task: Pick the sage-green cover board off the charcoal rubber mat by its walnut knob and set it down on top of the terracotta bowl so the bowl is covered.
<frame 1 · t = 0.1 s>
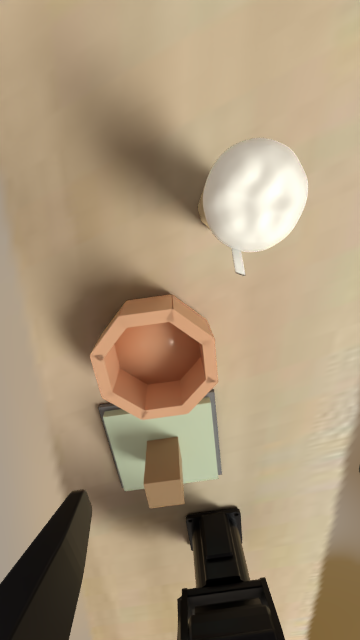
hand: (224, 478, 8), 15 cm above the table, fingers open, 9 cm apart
milkshake: (217, 212, 19), on the table
cover board: (164, 443, 26), resting on mat
mat: (164, 440, 27), on the table
bowl: (157, 344, 23), on the table
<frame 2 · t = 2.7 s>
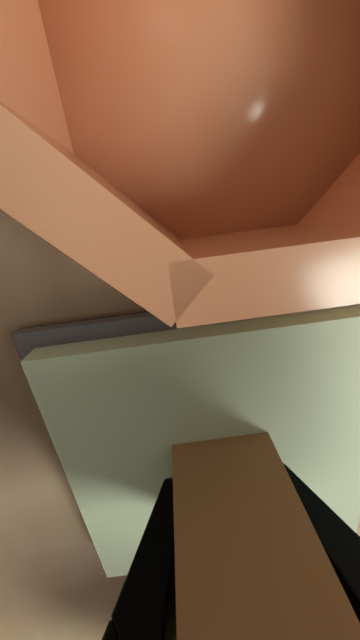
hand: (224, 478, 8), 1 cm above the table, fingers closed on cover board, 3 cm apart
cover board: (218, 452, 9), resting on mat, touching gripper
mat: (216, 443, 10), on the table
bowl: (225, 60, 6), on the table
when the fingers open (6 cm above the table, at t = 5.5 s): cover board stays where it is, resting on bowl.
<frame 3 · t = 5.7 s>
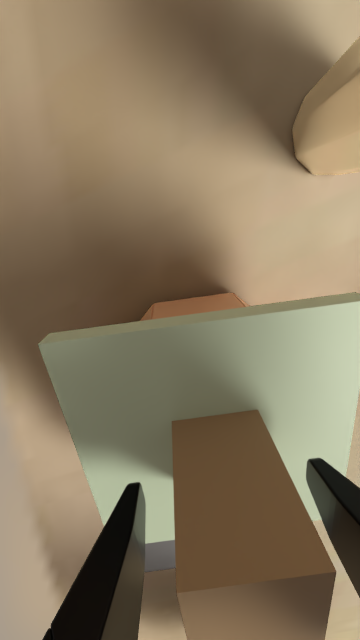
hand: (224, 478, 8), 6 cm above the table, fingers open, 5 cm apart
milkshake: (323, 143, 10), on the table
cover board: (214, 431, 10), point 4 cm above the table, touching bowl
mat: (201, 510, 18), on the table
bowl: (201, 374, 14), on the table
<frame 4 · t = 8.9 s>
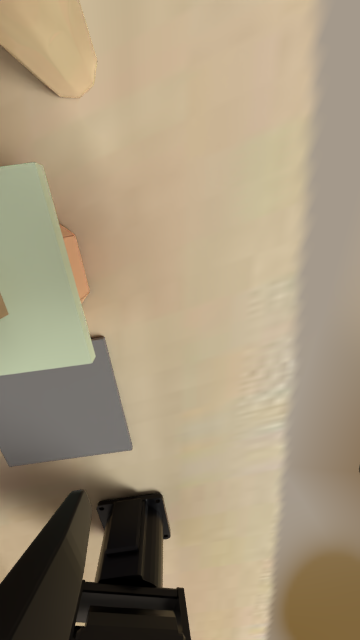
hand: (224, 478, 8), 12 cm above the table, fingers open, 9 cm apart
milkshake: (66, 72, 14), on the table
mat: (53, 405, 21), on the table
bowl: (19, 272, 17), on the table
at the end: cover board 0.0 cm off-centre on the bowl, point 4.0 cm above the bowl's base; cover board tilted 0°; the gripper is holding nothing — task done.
